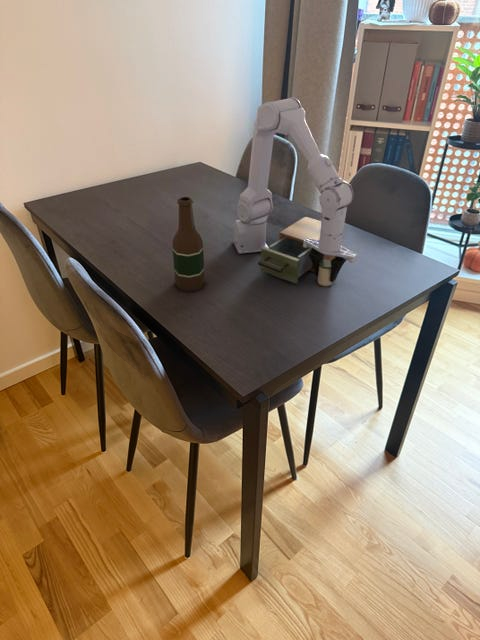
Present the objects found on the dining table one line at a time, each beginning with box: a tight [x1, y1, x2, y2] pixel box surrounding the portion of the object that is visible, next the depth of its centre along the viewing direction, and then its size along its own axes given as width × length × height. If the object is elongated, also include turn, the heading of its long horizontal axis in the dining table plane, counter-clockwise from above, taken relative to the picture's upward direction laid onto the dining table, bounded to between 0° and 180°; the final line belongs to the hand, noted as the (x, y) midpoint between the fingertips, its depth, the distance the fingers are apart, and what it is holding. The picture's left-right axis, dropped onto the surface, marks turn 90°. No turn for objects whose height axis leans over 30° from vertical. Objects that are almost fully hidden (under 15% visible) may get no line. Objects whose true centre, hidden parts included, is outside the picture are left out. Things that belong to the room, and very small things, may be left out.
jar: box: [316, 259, 333, 287], centre depth 128 cm, size 4×4×6 cm
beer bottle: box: [172, 196, 205, 292], centre depth 122 cm, size 8×8×24 cm
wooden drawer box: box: [278, 216, 335, 273], centre depth 140 cm, size 14×13×9 cm
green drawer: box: [257, 236, 313, 284], centre depth 131 cm, size 18×11×7 cm, turn 143°
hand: (325, 277), depth 129 cm, fingers closed on jar, 4 cm apart
